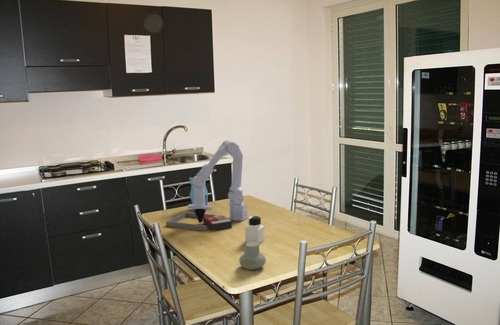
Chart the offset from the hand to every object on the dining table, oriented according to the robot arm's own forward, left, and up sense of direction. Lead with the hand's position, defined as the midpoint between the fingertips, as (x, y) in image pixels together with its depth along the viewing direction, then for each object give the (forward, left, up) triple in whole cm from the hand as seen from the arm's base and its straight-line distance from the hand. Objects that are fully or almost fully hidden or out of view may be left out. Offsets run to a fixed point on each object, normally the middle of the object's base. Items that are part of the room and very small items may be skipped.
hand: (200, 222), depth 250 cm
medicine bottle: (-39, +15, -1) cm, 42 cm away
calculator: (-10, 0, -1) cm, 10 cm away
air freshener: (-51, +44, -1) cm, 68 cm away
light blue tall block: (+16, -25, -1) cm, 30 cm away
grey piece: (+3, 0, -1) cm, 3 cm away
